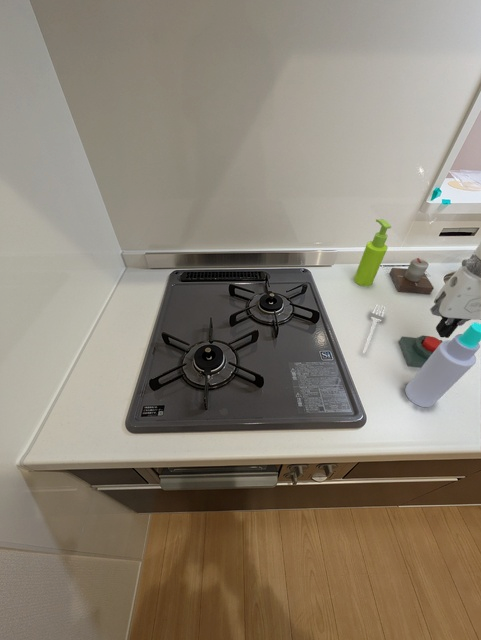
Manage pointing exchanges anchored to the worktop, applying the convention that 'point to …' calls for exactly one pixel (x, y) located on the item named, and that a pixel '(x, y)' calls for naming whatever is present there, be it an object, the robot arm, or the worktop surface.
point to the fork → (373, 326)
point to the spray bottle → (444, 367)
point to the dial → (416, 270)
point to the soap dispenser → (372, 256)
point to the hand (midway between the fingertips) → (441, 333)
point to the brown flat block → (410, 282)
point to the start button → (431, 343)
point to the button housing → (414, 351)
